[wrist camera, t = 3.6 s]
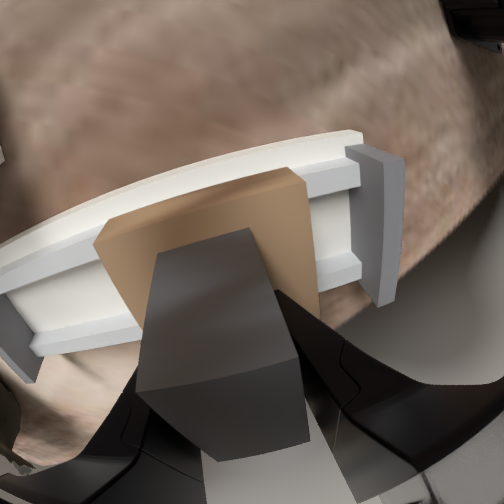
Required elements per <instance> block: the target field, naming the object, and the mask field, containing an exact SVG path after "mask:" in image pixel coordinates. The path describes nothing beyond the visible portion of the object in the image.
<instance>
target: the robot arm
mask: <svg viewBox="0 0 504 504" xmlns="http://www.w3.org/2000/svg"><path fill="white" fill-rule="evenodd" d="M442 1H443V5H444V8H445V12H446V15H447V19H448V23H449V27H450V31H451V33H452V35H453V36H454V37H455V38H457V39H460V40H463V41H466V42H469V43H472V44H475V45H477V46H480V47H483V48H485V49H488V50H490V51H493V52H495V53H502V48H501V43H504V0H442ZM273 291H274V294H275V296H276V299H277V302H278V304H279V307H280V309H281V312H282V315H283V317H284V320H285V323H286V325H287V328H288V330H289V333H290V336H291V338H292V341H293V344H294V346H295V349H296V351H297V354H298V357H299V363H300V370H301V377H302V383H303V390H304V396H305V398H306V400H307V402H308V404H309V406H310V409H311V411H312V413H313V415H314V417H315V419H316V421H317V423H318V425H319V427H320V429H321V431H322V433H323V435H324V437H325V439H326V442H327V444H328V446H329V448H330V450H331V452H332V454H333V456H334V458H335V460H336V462H337V464H338V466H339V468H340V470H341V472H342V474H343V476H344V478H345V480H346V482H347V484H348V486H349V488H350V490H351V492H352V494H353V496H354V498H355V500H356V502H357V504H358V503H361V502H363V501H366V500H368V499H371V498H373V497H375V496H377V495H379V497H380V499H381V502H382V503H383V504H504V376H503V377H502V378H501V379H499V380H498V381H495V382H492V383H489V384H483V385H431V384H425V383H421V382H418V381H416V380H413V379H411V378H409V377H407V376H406V375H404V374H402V373H400V372H398V371H396V370H394V369H392V368H391V367H389V366H387V365H385V364H383V363H381V362H379V361H378V360H376V359H375V358H373V357H371V356H369V355H368V354H366V353H365V352H363V351H361V350H360V349H359V348H357V347H356V346H354V345H353V344H352V343H350V342H349V341H348V340H345V338H343V337H342V336H341V335H339V334H338V333H337V332H335V331H334V330H333V329H331V328H330V327H329V326H327V325H326V324H325V323H323V322H322V321H321V320H319V319H318V318H317V317H315V316H314V315H313V314H311V313H310V312H309V311H307V310H306V309H305V308H303V307H302V306H301V305H299V304H298V303H297V302H295V301H294V300H293V299H291V298H290V297H289V296H287V295H286V294H285V293H283V292H282V291H281V290H279V289H276V290H273ZM137 372H138V366H137V368H136V370H135V371H134V373H133V375H132V376H131V378H130V380H129V381H128V383H127V385H126V386H125V388H124V390H123V393H121V395H120V396H119V398H118V400H117V401H116V403H115V405H114V406H113V408H112V410H111V411H110V413H109V414H108V416H107V417H106V419H105V420H104V422H103V423H102V424H101V426H100V427H99V429H98V430H97V431H96V433H95V434H94V436H93V437H92V438H91V440H90V441H89V443H88V444H87V445H86V447H85V448H84V449H83V451H82V452H81V453H80V454H79V455H78V456H76V457H75V458H73V459H71V460H69V461H67V462H64V463H62V464H59V465H57V466H54V467H51V468H49V469H46V470H43V471H40V472H38V473H35V474H31V475H28V476H16V475H13V474H10V473H6V474H4V475H2V476H0V489H2V490H4V491H6V492H8V493H10V494H12V495H14V496H16V497H19V498H21V499H23V500H25V501H27V502H30V503H32V504H207V501H206V494H205V487H204V478H203V469H202V460H201V449H200V448H198V447H197V446H196V445H194V444H193V443H192V442H191V441H189V440H188V439H187V438H186V437H184V436H183V435H182V434H181V433H179V432H178V431H177V430H176V429H175V428H173V427H172V426H171V425H170V424H169V423H168V422H167V421H165V420H164V419H163V418H162V417H161V416H160V415H159V414H158V413H156V412H155V411H154V410H153V409H152V408H151V407H150V406H149V405H148V404H147V403H146V402H145V401H144V400H143V399H142V398H141V397H140V396H139V395H138V394H137V393H136V392H135V391H136V381H137ZM0 504H13V503H11V502H8V501H6V500H4V499H2V498H0Z"/></svg>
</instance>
